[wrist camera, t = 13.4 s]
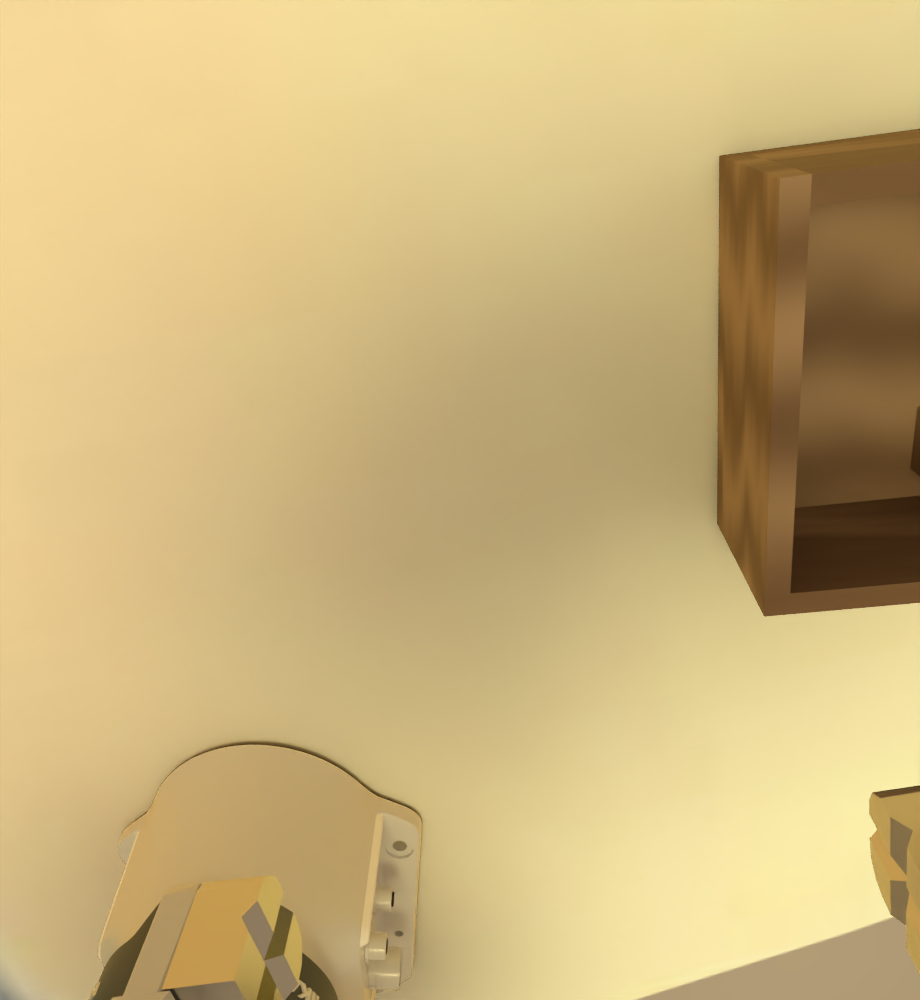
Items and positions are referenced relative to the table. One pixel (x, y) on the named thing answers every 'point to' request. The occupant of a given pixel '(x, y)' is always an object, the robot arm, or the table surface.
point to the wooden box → (821, 372)
